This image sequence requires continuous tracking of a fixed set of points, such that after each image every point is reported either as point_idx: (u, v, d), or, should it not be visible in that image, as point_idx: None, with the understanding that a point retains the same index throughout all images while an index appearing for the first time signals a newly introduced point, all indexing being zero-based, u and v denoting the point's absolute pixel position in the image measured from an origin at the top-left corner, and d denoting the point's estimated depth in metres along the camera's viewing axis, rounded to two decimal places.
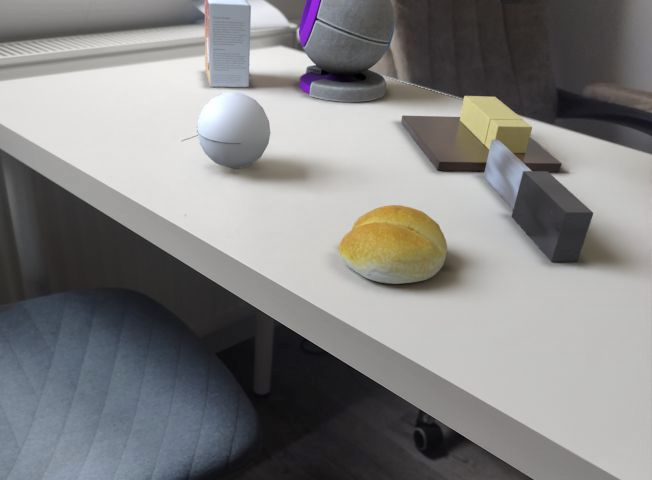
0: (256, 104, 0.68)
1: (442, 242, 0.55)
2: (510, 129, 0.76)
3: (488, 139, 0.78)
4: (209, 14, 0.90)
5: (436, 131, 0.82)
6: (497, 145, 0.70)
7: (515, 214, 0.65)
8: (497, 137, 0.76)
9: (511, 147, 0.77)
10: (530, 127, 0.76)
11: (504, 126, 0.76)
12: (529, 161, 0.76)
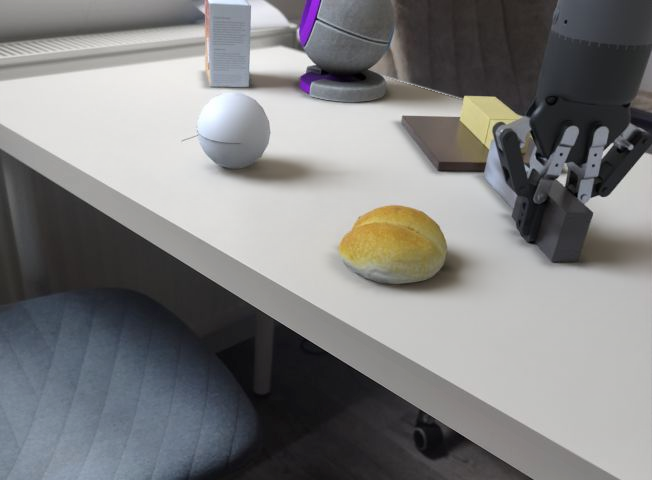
0: (256, 104, 0.68)
1: (442, 242, 0.55)
2: None
3: (488, 139, 0.78)
4: (209, 14, 0.90)
5: (436, 131, 0.82)
6: None
7: (515, 214, 0.65)
8: None
9: None
10: None
11: None
12: (529, 161, 0.76)
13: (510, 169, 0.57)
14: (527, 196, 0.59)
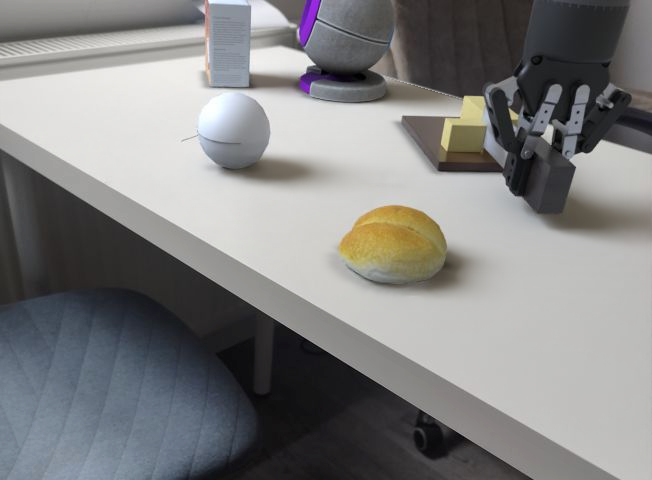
0: (256, 104, 0.68)
1: (442, 242, 0.55)
2: (464, 128, 0.75)
3: (443, 137, 0.77)
4: (209, 14, 0.90)
5: (436, 131, 0.82)
6: None
7: (505, 172, 0.69)
8: (451, 136, 0.76)
9: (466, 146, 0.77)
10: (485, 126, 0.75)
11: (458, 125, 0.75)
12: None
13: (499, 126, 0.61)
14: (515, 152, 0.63)
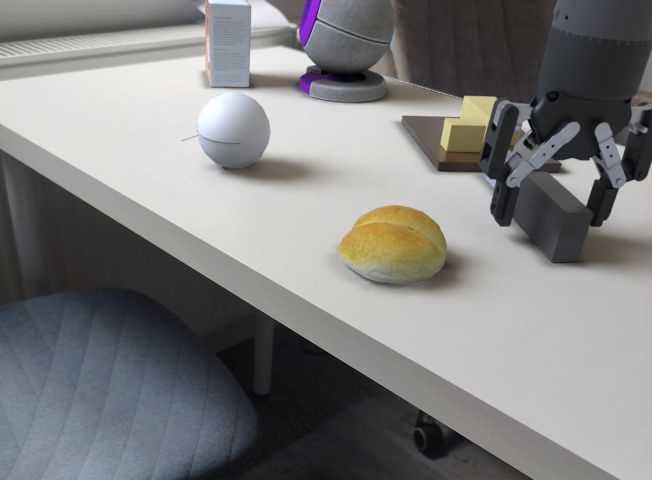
0: (256, 104, 0.68)
1: (442, 242, 0.55)
2: (464, 128, 0.75)
3: (443, 137, 0.77)
4: (210, 14, 0.90)
5: (436, 131, 0.82)
6: None
7: (515, 214, 0.65)
8: (451, 136, 0.76)
9: (465, 146, 0.77)
10: (485, 126, 0.75)
11: (458, 125, 0.75)
12: None
13: (495, 145, 0.55)
14: (500, 180, 0.58)
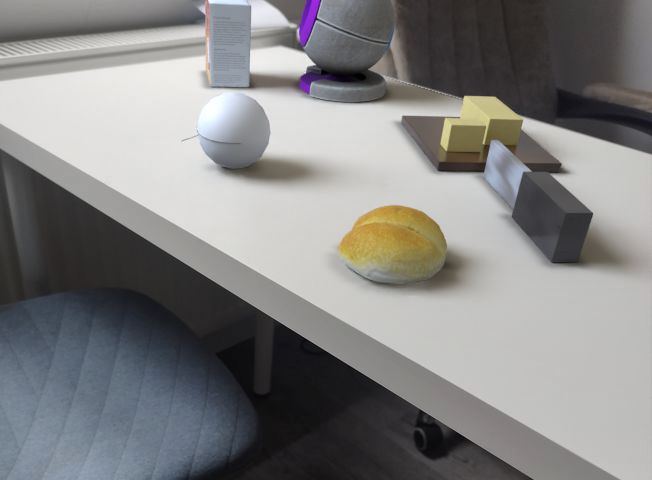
0: (256, 104, 0.68)
1: (442, 242, 0.55)
2: (464, 128, 0.75)
3: (443, 137, 0.77)
4: (210, 14, 0.90)
5: (436, 131, 0.82)
6: (497, 146, 0.70)
7: (515, 214, 0.65)
8: (451, 136, 0.76)
9: (465, 146, 0.77)
10: (485, 126, 0.75)
11: (458, 125, 0.75)
12: (529, 161, 0.76)
13: None
14: None
